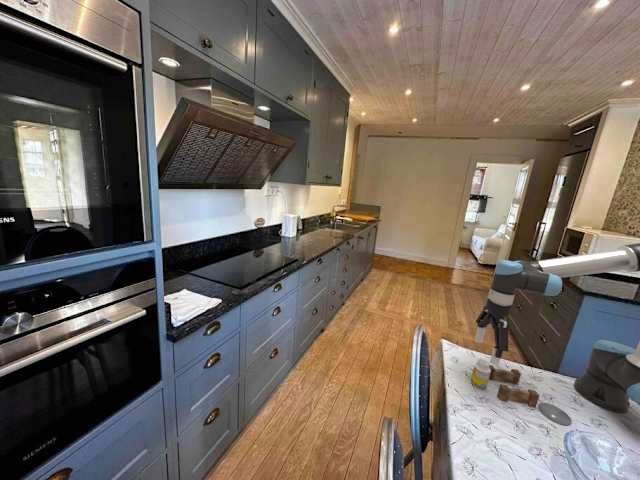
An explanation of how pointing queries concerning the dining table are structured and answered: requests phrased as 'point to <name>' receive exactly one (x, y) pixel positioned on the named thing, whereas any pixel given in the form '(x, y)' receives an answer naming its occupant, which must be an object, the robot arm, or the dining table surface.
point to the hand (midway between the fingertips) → (485, 352)
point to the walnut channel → (512, 393)
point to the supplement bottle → (481, 374)
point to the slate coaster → (554, 414)
